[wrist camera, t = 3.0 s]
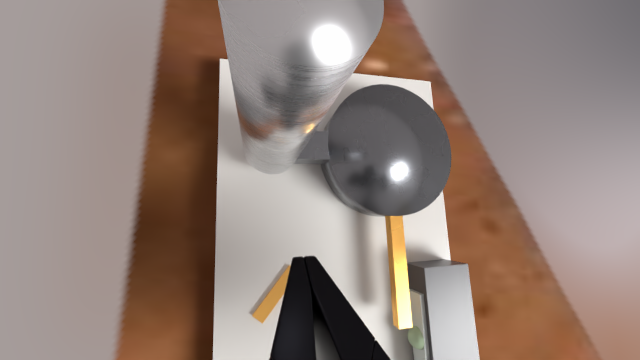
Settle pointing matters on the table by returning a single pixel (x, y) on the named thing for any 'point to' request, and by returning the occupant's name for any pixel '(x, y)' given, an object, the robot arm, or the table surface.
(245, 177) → the stand
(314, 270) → the robot arm
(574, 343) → the table surface
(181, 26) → the table surface
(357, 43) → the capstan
